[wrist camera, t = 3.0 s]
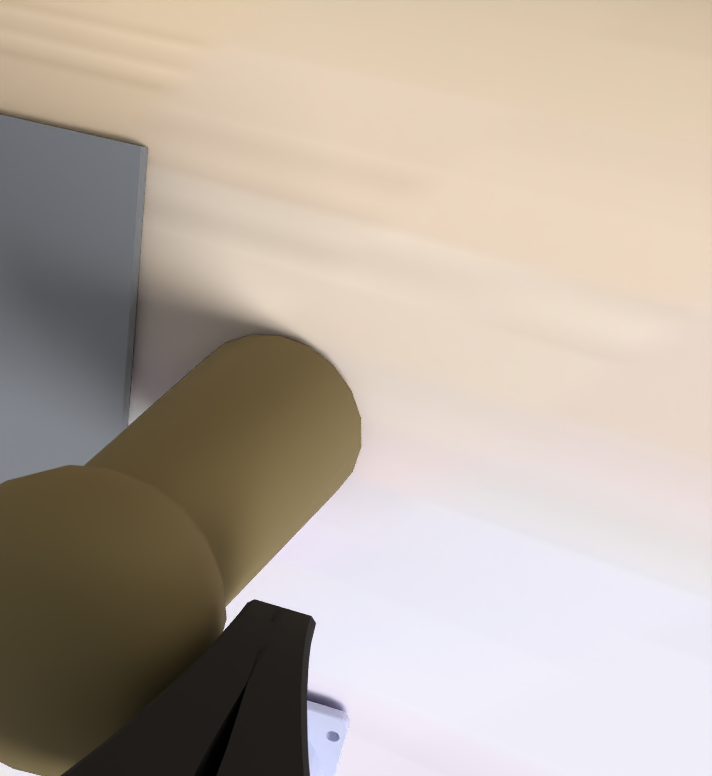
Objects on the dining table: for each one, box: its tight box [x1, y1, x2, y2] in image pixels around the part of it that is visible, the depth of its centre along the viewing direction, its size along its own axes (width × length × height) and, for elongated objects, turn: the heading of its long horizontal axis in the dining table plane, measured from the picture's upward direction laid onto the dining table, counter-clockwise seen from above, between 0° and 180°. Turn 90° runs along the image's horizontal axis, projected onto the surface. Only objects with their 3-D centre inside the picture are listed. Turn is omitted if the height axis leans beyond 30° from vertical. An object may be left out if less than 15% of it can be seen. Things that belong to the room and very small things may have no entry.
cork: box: [0, 335, 361, 776], centre depth 13 cm, size 6×6×11 cm
